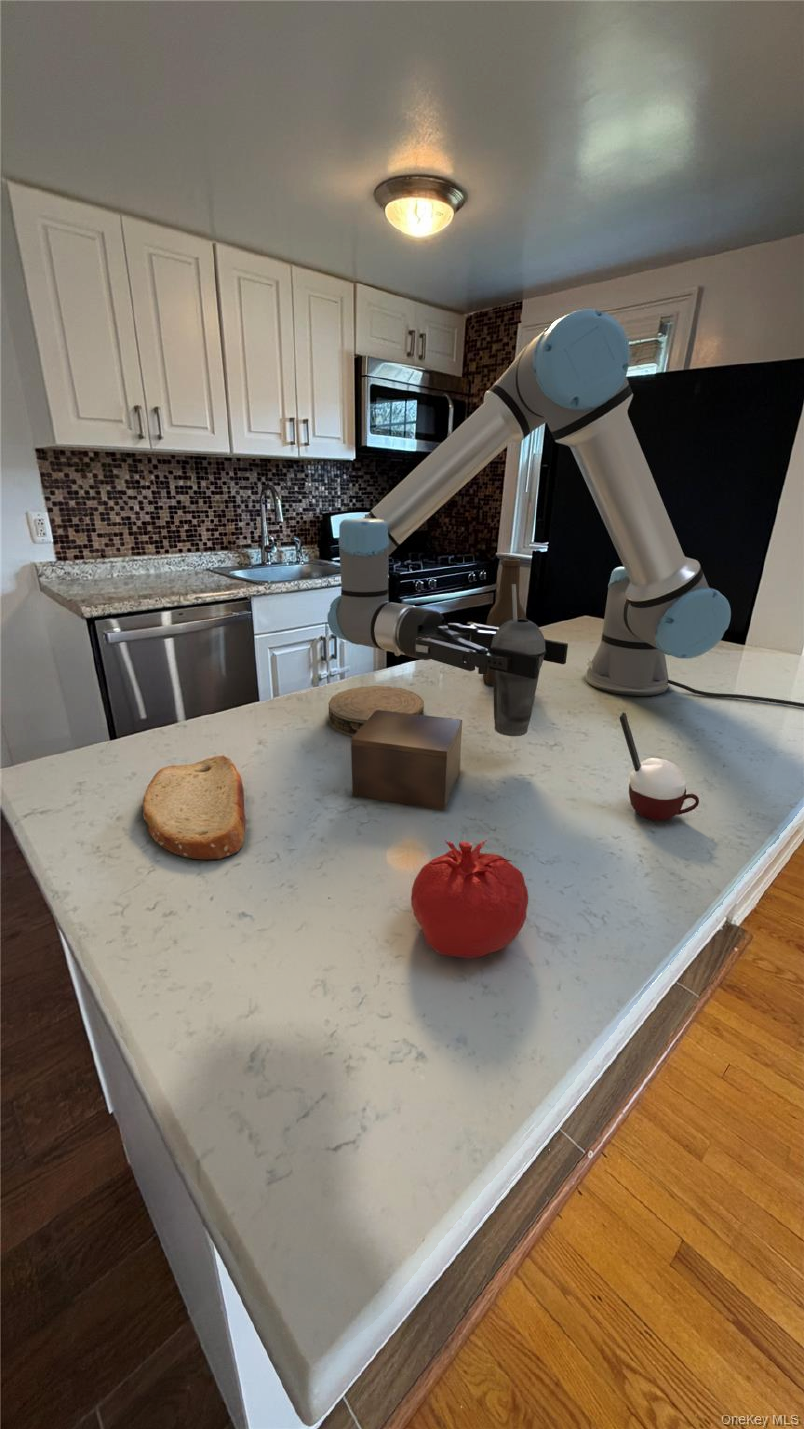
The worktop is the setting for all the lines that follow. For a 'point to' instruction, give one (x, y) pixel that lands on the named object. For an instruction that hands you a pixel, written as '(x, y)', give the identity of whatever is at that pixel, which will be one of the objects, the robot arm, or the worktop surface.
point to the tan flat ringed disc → (370, 705)
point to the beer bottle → (505, 601)
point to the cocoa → (655, 784)
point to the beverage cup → (511, 689)
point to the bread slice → (197, 809)
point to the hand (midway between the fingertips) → (551, 660)
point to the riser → (406, 758)
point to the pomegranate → (469, 901)
